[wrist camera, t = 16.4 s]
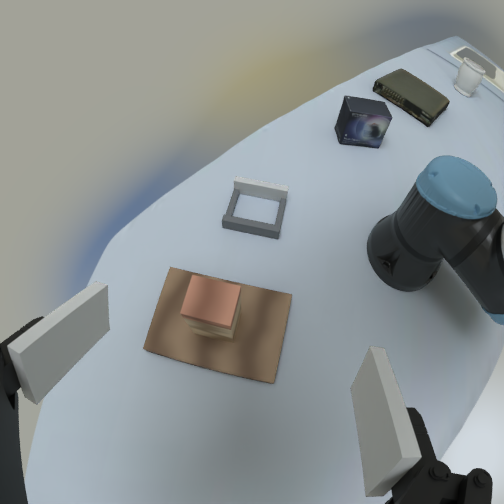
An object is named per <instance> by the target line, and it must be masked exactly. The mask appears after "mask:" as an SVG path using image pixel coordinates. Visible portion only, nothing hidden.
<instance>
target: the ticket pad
mask: <svg viewBox="0 0 504 504" xmlns="http://www.w3.org/2000/svg"><path fill="white" fill-rule="evenodd" d="M180 314H181V315H182V317H183V318H184V320H185V321H186V323H187V324H188V325H189V327H190V328H191V330H192V331H193V332H194V333H195V334H198V335H202V336H206V337H210V338H214V339H218V340H222V341H226V342H230V343H234V339H235V335H236V331H237V327H238V323H239V319H240V315H241V286H239V285H234V284H230V283H226V282H221V281H217V280H213V279H208V278H204V277H200V276H196V275H192V277H191V281H190V284H189V287H188V290H187V293H186V296H185V299H184V302H183V306H182V309H181V312H180Z"/></svg>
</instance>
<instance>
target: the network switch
mask: <svg viewBox="0 0 504 504" xmlns="http://www.w3.org/2000/svg"><path fill="white" fill-rule="evenodd" d="M379 88H380V89H379ZM373 91H374V92H376V93H378V94H381V95H383V96H384V98H385V97H386V96H387V97H386V98H388V100H390V101H391V102H393V103H395V104H396V105H398V106H399V107H401V108H403V110H405V111H407V112H409V113H410V114H412V115H413V116H415V117H416V118H418V119H419V120H420V121H421V122H423V123H425V124H426V126H427V127H428V126H430V125H431V124H432V122H433V121H434V120H435V119H436V118H437V117H438V116H439V115H440V114H441V113H442V112H443V111H444V110H446V108H447V106H448V104H449V102H450V101H449V100H448V99H447V98H446V97H445V96H444V95H442V94H441V93H440V92H438V91H437V90H435V89H434V88H432V87H431V86H429V85H428V84H426V83H425V82H423V81H422V80H420V79H419V78H417V77H416V76H414V75H412V74H411V73H409V72H407V71H406V70H404V69H398V70H396V71H394V72H392V73H389V74H387V75H385V76H383V77H381V78H379V79H377V80H376V81H375V84H374V87H373Z"/></svg>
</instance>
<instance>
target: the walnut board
mask: <svg viewBox="0 0 504 504" xmlns="http://www.w3.org/2000/svg"><path fill="white" fill-rule="evenodd" d="M192 275H196V276H200V277H204V278H208V279H213V280H217V281H221V282H226V283H230V284H234V285H239V286H241V315H240V319H239V323H238V327H237V331H236V335H235V339H234V343H230V342H226V341H222V340H218V339H214V338H210V337H206V336H202V335H198V334H195V333H194V332H193V331H192V330H191V328H190V327H189V325H188V324H187V323H186V321H185V320H184V318H183V317H182V315H181V314H180V312H181V309H182V306H183V302H184V299H185V296H186V293H187V290H188V287H189V284H190V281H191V277H192ZM291 297H292V294H287V293H282V292H278V291H273V290H268V289H264V288H259V287H255V286H250V285H246V284H241V283H237V282H232V281H228V280H223V279H219V278H215V277H210V276H206V275H202V274H198V273H193V272H189V271H185V270H181V269H177V268H173V267H170V269H169V272H168V274H167V277H166V280H165V283H164V286H163V289H162V292H161V295H160V297H159V300H158V303H157V306H156V309H155V312H154V315H153V319H152V322H151V325H150V328H149V331H148V334H147V337H146V341H145V344H144V347H143V349H145V350H146V351H149V352H152V353H155V354H159V355H162V356H165V357H168V358H171V359H175V360H178V361H182V362H185V363H188V364H192V365H196V366H199V367H203V368H207V369H210V370H214V371H218V372H222V373H226V374H230V375H235V376H239V377H243V378H248V379H252V380H257V381H262V382H266V383H271V384H273V383H274V380H275V375H276V371H277V366H278V362H279V357H280V352H281V348H282V343H283V338H284V333H285V328H286V323H287V318H288V313H289V308H290V303H291Z"/></svg>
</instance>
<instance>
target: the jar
mask: <svg viewBox="0 0 504 504" xmlns="http://www.w3.org/2000/svg"><path fill="white" fill-rule="evenodd" d="M463 60H464V62H463V63H462V64H461V66H460V68H459V70H458V74H457V78H456V84H455V85H454V87H455V89H456V90H457V91H458V92H460V93H461V94H463V95H464V96H467V97H470V96H471V93H472V92H474V91H475V90H476V88H477V87H478V86H479V84H480V83H481V80H482V77H483V74H485V70H484V69H483V68H482V67H481V66H480V65H478V64H477V63H475V62H474V61H472V60H470V59H468V58H464V59H463Z"/></svg>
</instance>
